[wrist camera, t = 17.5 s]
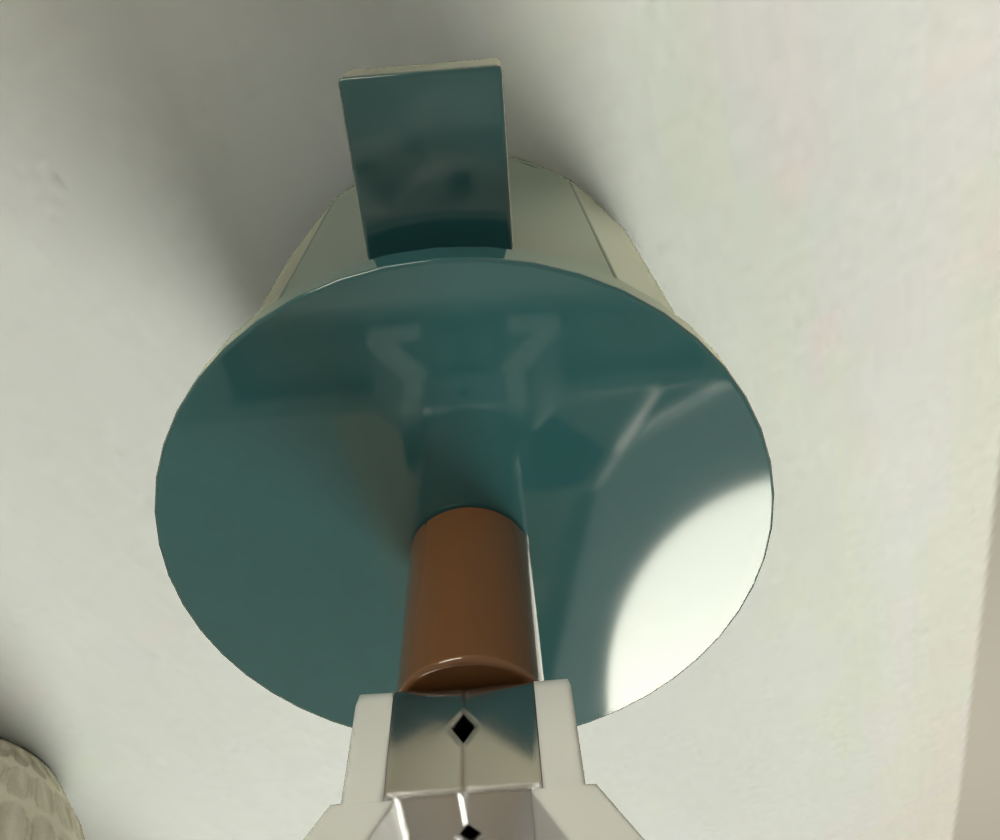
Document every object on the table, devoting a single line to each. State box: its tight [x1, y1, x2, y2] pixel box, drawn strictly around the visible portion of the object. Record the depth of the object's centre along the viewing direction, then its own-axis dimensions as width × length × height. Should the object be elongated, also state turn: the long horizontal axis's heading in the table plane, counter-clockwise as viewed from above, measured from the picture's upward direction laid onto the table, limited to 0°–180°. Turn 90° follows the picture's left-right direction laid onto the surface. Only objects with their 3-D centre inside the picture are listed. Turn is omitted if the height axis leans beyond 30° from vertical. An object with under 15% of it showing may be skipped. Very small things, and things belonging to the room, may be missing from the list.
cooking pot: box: [257, 58, 675, 314], centre depth 18 cm, size 10×16×8 cm, turn 4°
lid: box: [155, 247, 774, 728], centre depth 13 cm, size 11×11×5 cm
